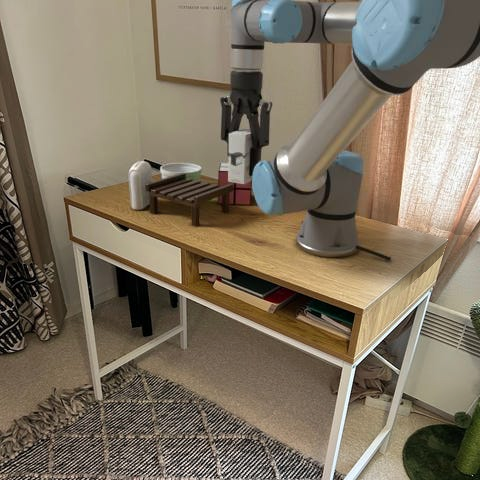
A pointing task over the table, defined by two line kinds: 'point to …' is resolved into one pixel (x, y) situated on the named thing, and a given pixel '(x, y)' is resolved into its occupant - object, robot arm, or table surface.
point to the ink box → (239, 156)
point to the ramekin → (181, 170)
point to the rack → (187, 194)
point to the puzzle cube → (234, 188)
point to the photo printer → (139, 184)
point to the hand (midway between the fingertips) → (243, 172)
